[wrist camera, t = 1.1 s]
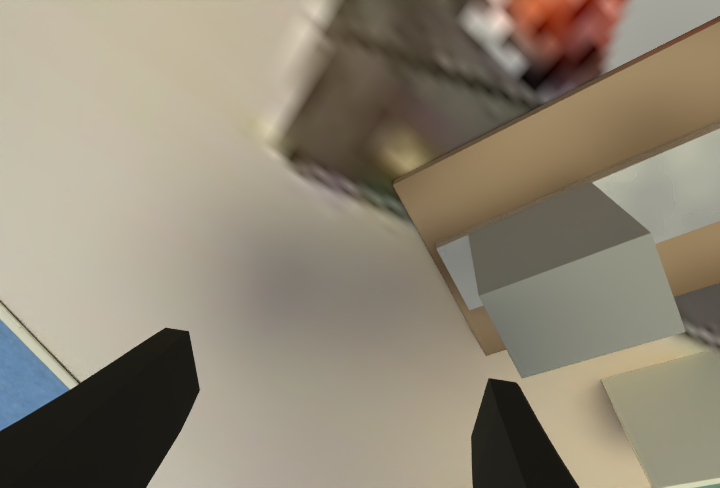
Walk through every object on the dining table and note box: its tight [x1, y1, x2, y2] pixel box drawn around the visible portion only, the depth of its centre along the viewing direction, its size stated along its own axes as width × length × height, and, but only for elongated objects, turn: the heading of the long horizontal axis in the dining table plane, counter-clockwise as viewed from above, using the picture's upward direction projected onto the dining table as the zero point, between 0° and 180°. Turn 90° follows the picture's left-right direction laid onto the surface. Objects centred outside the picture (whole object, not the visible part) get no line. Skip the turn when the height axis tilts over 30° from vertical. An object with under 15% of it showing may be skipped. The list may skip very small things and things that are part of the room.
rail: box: [436, 120, 720, 310], centre depth 15 cm, size 4×21×1 cm, turn 120°
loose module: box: [601, 350, 720, 488], centre depth 18 cm, size 4×5×6 cm
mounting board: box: [393, 16, 720, 356], centre depth 16 cm, size 10×22×1 cm, turn 120°
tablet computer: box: [0, 302, 79, 431], centre depth 30 cm, size 19×13×1 cm, turn 31°
